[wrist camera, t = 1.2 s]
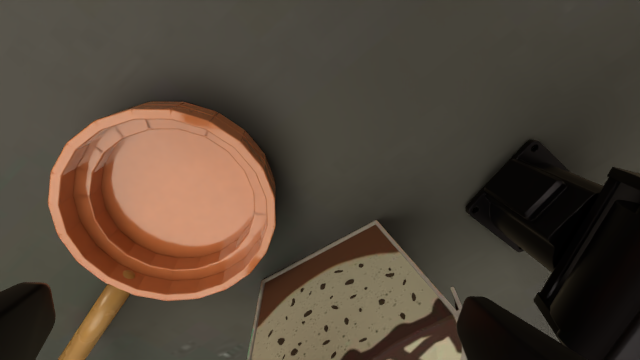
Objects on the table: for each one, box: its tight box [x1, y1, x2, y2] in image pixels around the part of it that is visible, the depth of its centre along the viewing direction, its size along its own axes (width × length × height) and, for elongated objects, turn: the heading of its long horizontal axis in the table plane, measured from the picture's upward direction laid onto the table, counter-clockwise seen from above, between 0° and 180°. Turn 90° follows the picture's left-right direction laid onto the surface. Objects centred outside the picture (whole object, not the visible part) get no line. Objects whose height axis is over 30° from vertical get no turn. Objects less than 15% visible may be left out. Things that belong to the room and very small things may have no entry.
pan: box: [48, 101, 276, 301], centre depth 19 cm, size 11×11×3 cm
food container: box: [247, 220, 467, 360], centre depth 19 cm, size 12×6×10 cm, turn 118°
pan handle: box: [58, 270, 135, 360], centre depth 20 cm, size 1×9×1 cm, turn 142°
